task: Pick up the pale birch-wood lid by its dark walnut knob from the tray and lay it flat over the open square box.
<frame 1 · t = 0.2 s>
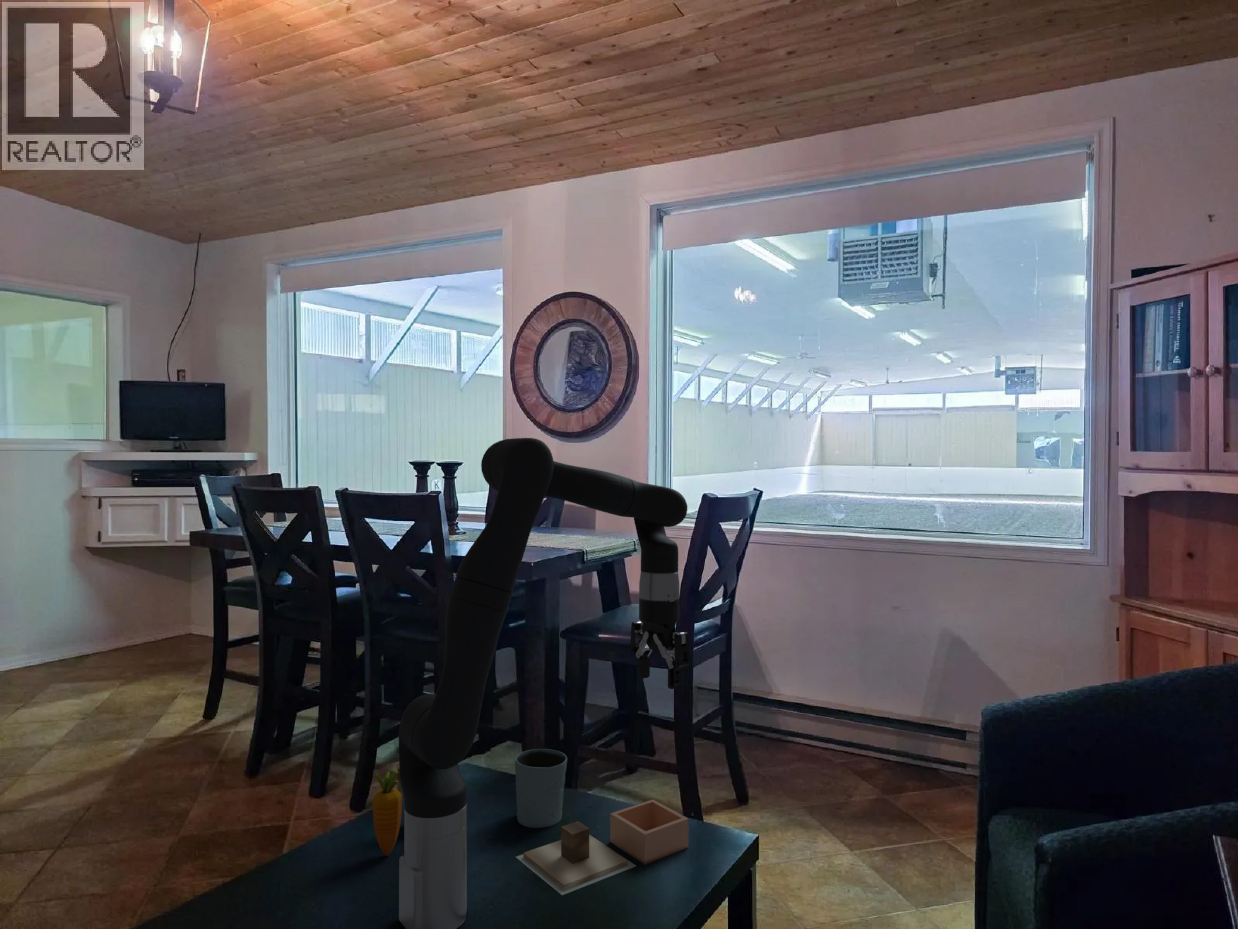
hand: (658, 683, 143), 28 cm above the table, tool pointing down, fingers open, 8 cm apart
open square box: (649, 846, 138), on the table
lid: (575, 861, 132), resting on tray
carrot: (387, 857, 135), on the table
tray: (575, 863, 132), on the table
grey cup: (540, 820, 149), on the table
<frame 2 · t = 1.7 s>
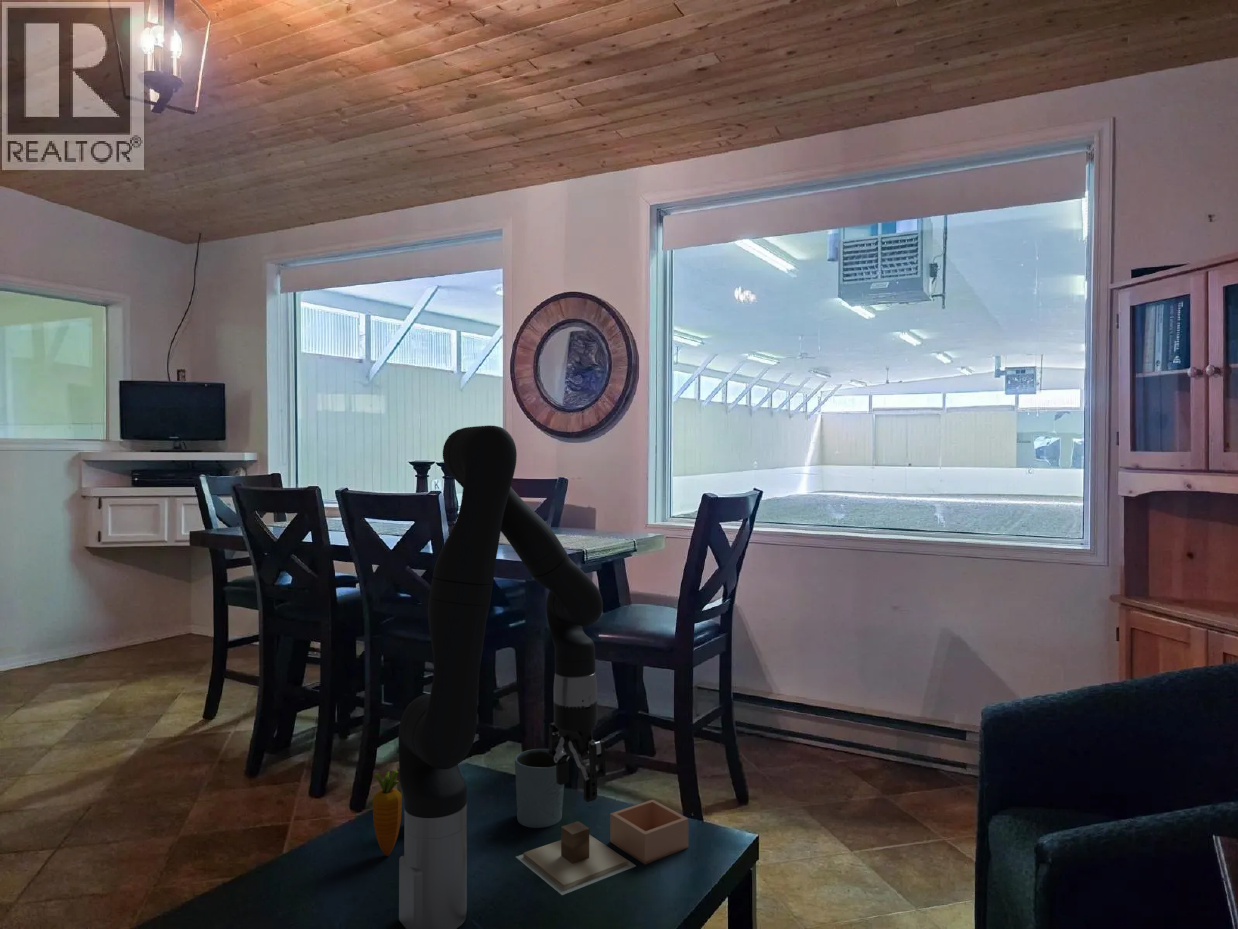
hand: (576, 791, 132), 12 cm above the table, tool pointing down, fingers open, 8 cm apart
nothing on the table moved.
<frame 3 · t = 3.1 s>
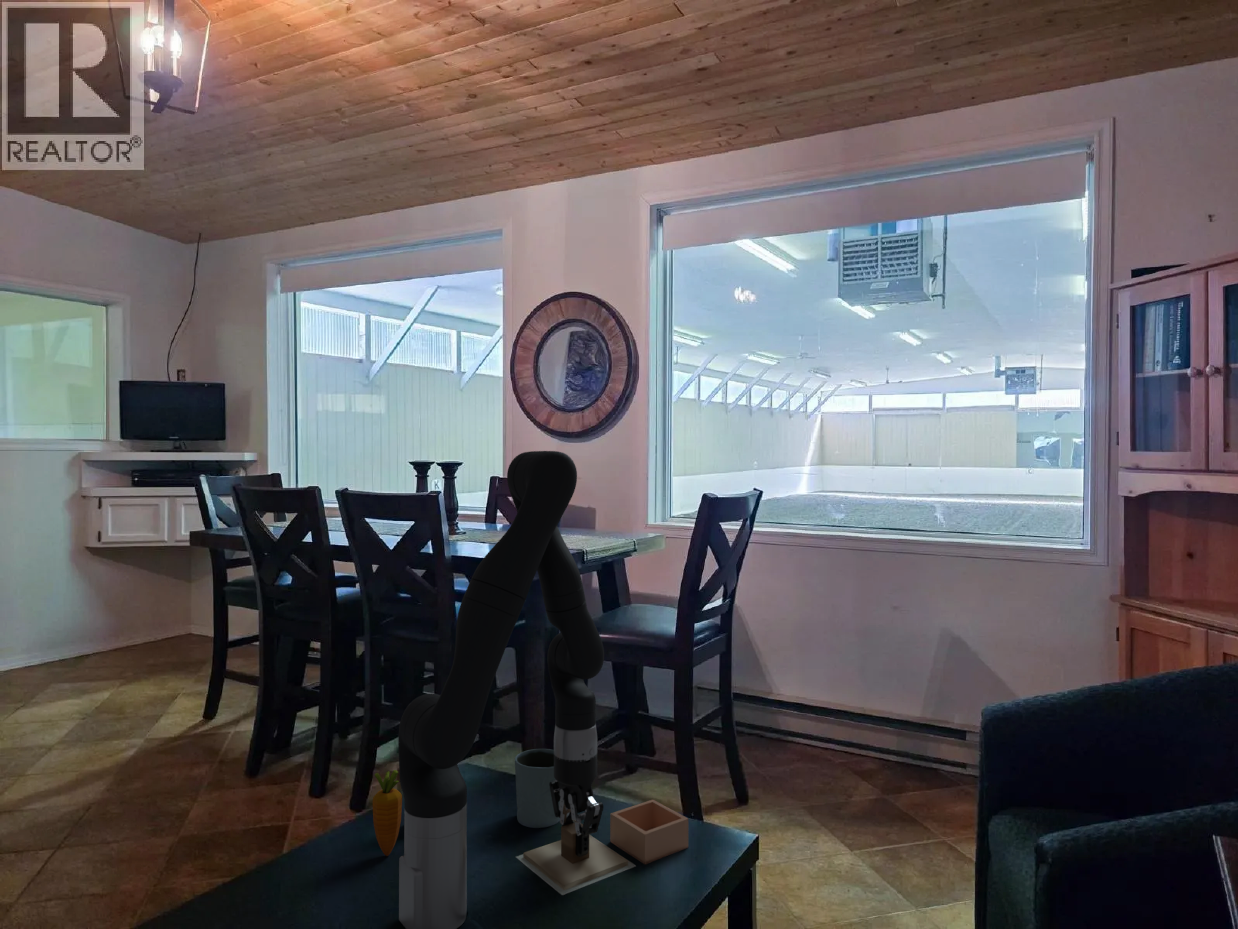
hand: (575, 849, 132), 2 cm above the table, tool pointing down, fingers closed on lid, 3 cm apart
lid: (575, 861, 132), resting on tray, touching gripper
everything else where it was.
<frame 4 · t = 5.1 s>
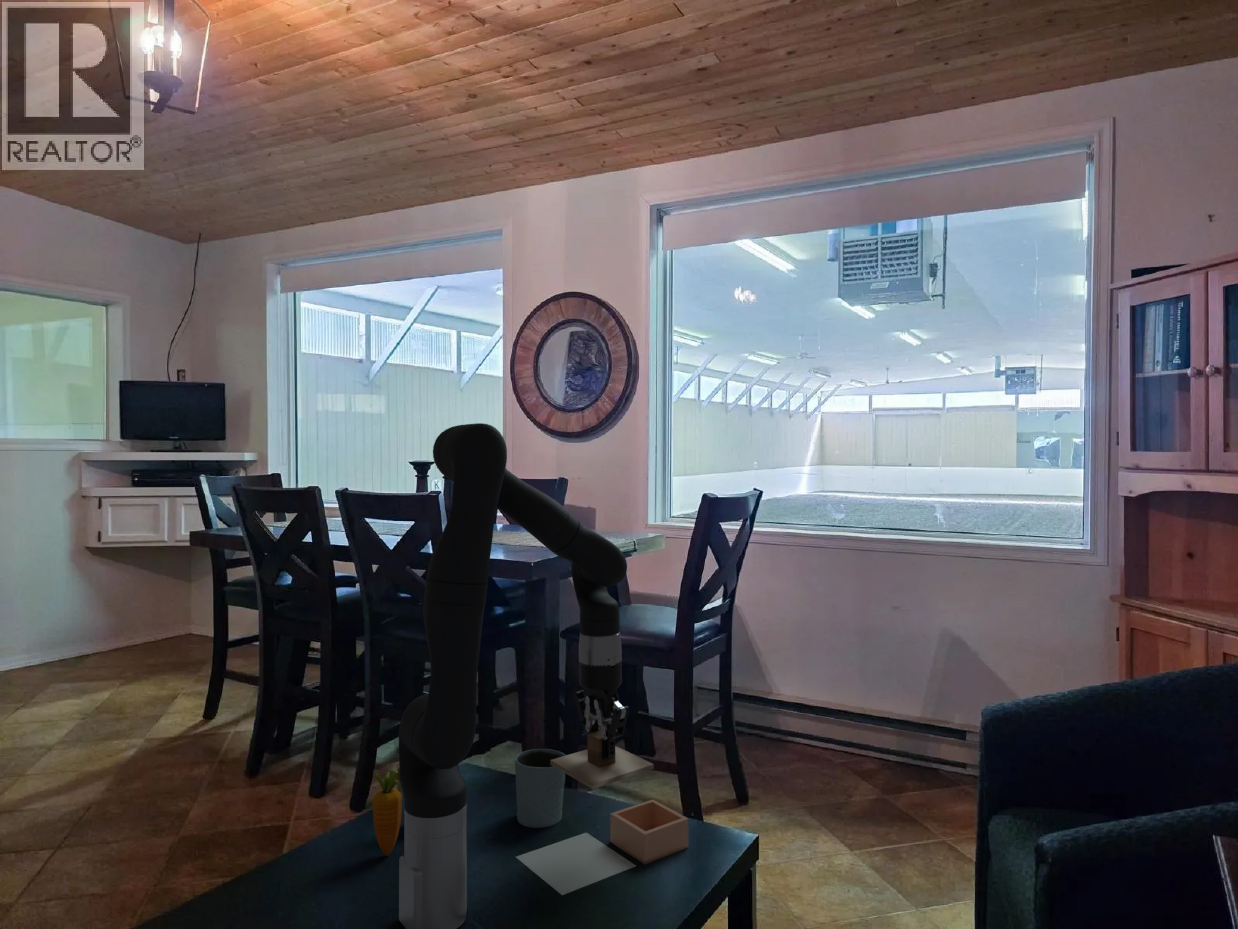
hand: (601, 755, 135), 18 cm above the table, tool pointing down, fingers closed on lid, 3 cm apart
lid: (601, 766, 135), point 16 cm above the table, touching gripper
everything else where it was.
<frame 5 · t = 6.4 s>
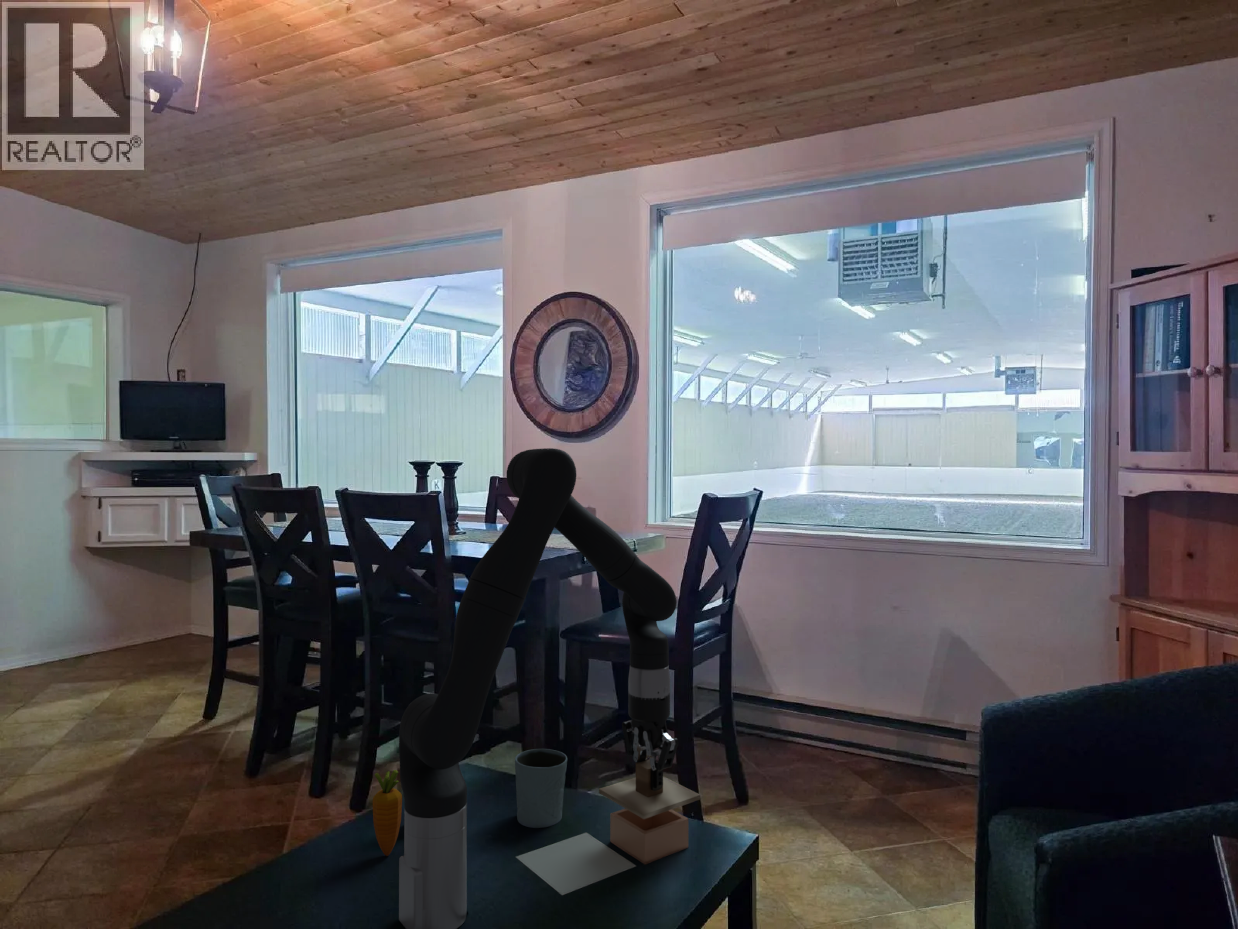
hand: (649, 785, 138), 11 cm above the table, tool pointing down, fingers closed on lid, 3 cm apart
lid: (649, 796, 138), point 9 cm above the table, touching gripper
everything else where it was.
when the fingers open (9 cm above the table, at t = 7.1 s): lid drops 1 cm, resting on open square box.
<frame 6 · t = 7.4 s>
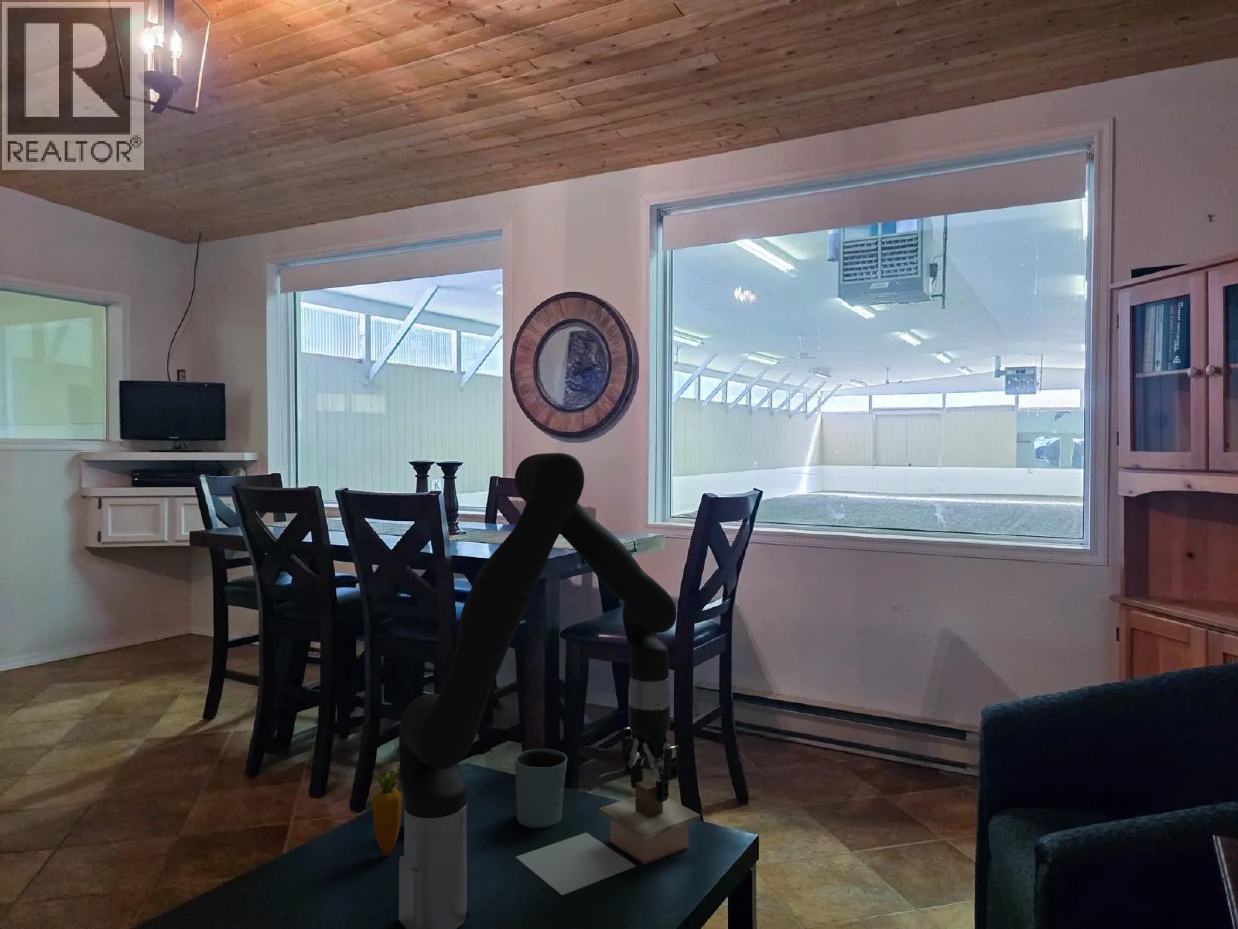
hand: (649, 794, 138), 9 cm above the table, tool pointing down, fingers open, 6 cm apart
lid: (649, 816, 138), point 5 cm above the table, touching open square box
everything else where it was.
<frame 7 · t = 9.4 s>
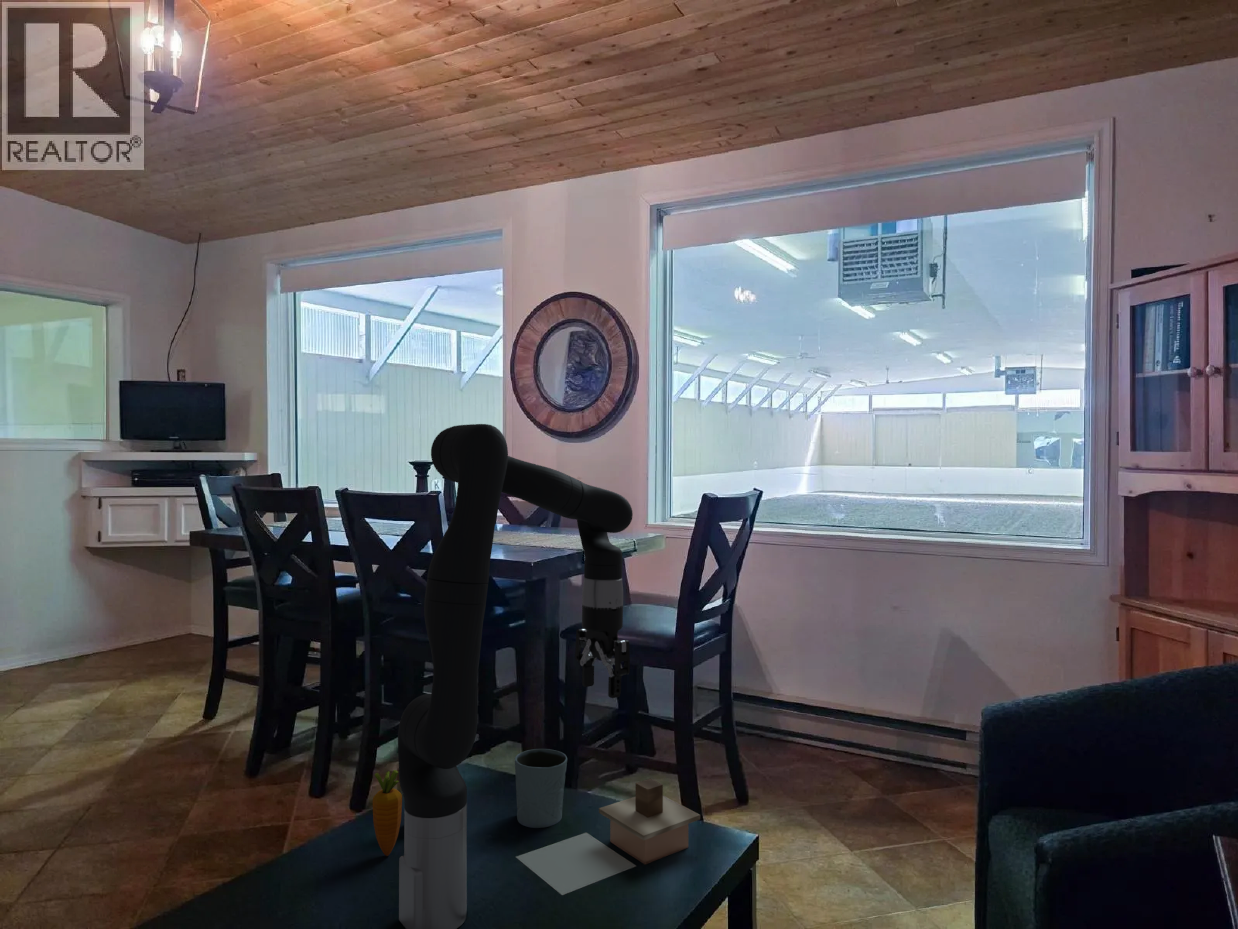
hand: (600, 691, 140), 27 cm above the table, tool pointing down, fingers open, 8 cm apart
nothing on the table moved.
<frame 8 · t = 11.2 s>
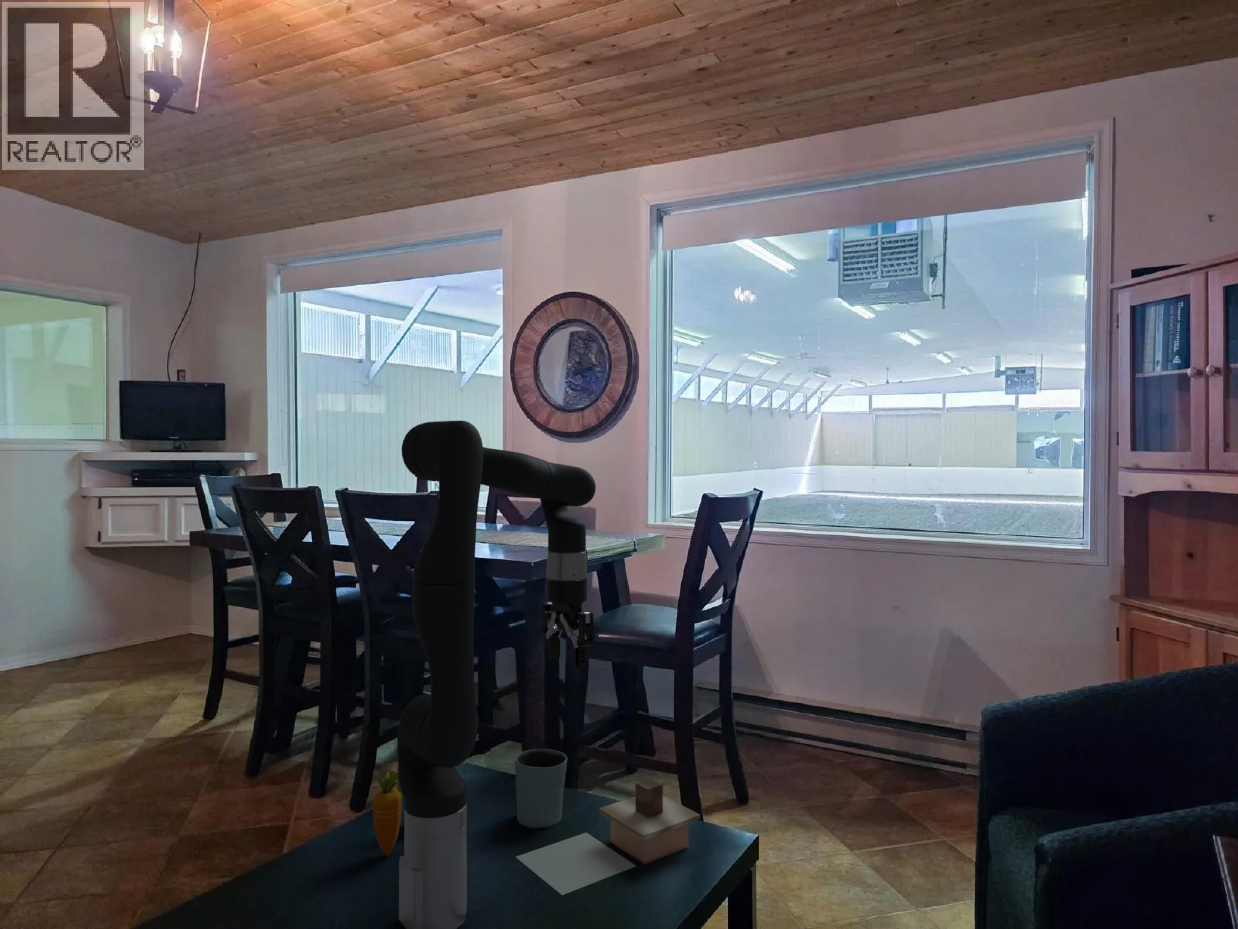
hand: (566, 663, 142), 32 cm above the table, tool pointing down, fingers open, 8 cm apart
nothing on the table moved.
at the end: lid 0.0 cm off-centre on the open square box, point 5.5 cm above the open square box's base; lid tilted 0°; the gripper is holding nothing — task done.
